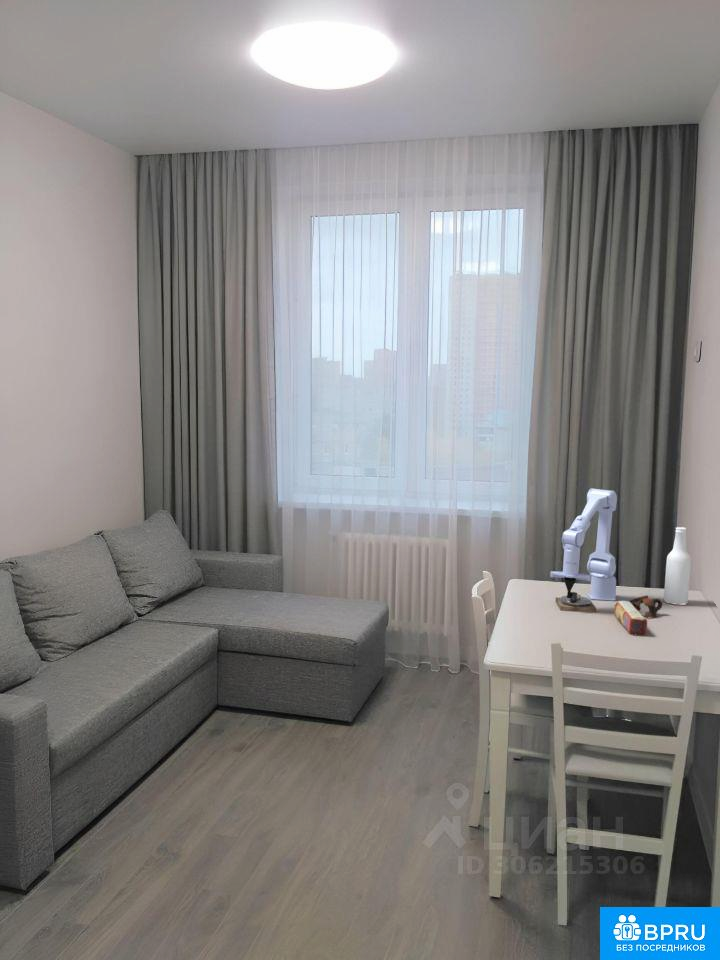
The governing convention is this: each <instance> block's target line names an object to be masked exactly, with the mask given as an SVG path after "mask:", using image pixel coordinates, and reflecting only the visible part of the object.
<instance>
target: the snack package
mask: <svg viewBox="0 0 720 960" xmlns="http://www.w3.org/2000/svg"><path fill="white" fill-rule="evenodd" d="M613 613H614V617H615V618H616V619H617V620H618V622H619V623H620V624H622V626H623V627H624V628H625V629H626V630H627V632H628V634H630V635H631V634H633V635H632V636H644V635H645V634H646V633H647V630H648V619H647V618H646V617H644V616H643V615H642V613H641V612H640V610H639V611H638V610H637V609H636V608H635V607H634V606H633V605H632V603H630V602H629V600H620V601H619V600H618V601H617V602H616V603H615V604H614V610H613ZM635 634H636V635H635ZM643 634H644V635H643Z"/></svg>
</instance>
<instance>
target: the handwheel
mask: <svg viewBox="0 0 720 960" xmlns="http://www.w3.org/2000/svg"><path fill="white" fill-rule="evenodd" d="M560 598H561V602H562V603H564V604H567V605H572V606H588V605H590V604H591V602H592V599H591V598H588V597H585V596H582V595H581V594H578V592H576V591H571V596H570V598H567V595H562V596H561V597H560Z"/></svg>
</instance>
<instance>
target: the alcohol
mask: <svg viewBox="0 0 720 960" xmlns="http://www.w3.org/2000/svg"><path fill="white" fill-rule="evenodd" d="M672 547H673V548H672V550H671V551H670V552H668V554H667V556H666V563H665V564H666V565H665V577H664V589H663V590H664V591H663V592H664V593H663V601H664V602H665V601H666V602H669V603H676V604H682V603H687V604H688V603H689V601H688V600H689V589H690V579H691V577H690V576H691V566H692V565H691V563H692V560H691V559H692V558H691V556H690V554H689V552H688V550H687V528H686V527H682V526H677V527H675V536H674V541H673V546H672ZM666 602H665V603H666Z"/></svg>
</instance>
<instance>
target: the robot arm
mask: <svg viewBox="0 0 720 960" xmlns="http://www.w3.org/2000/svg"><path fill="white" fill-rule="evenodd" d="M617 502H618V496H617V493H616V492H615V490H608V489H607V490H606V489H599V488H593V487H591V488H590V489H589V490H588V492H587V494H586V505H585V506H584V509H583V510H582V513H581V515H577V516H576V518H575V519H574V520H573V522H572V524H571V525H570V527H569V529H566V530H564V531H563V532H562V537H561V542H562V549H563V562H562V563H563V565H562V571H557V570H556V571H554V570H553V571H552V570H551V571H550V575H549V576H550V578H558V579H560V578H561V579H563V581H564V585H565V587H566V590H567V591H566V592H567V594H566V596H567V598H570V596H571V592H572V588H573V587H574V585H575V583H576V580H578V581H579V580H580V581H587V582H590V591H589V593H587V596H588V597H589V599H590V600H596V601H597V600H598V601H601V600H602V601H616V593H617V578H616V576H615V573H616V570H617V566H616V557H615V556H614V555H613V554H611V552H610V543H611V542H610V541H611V535H612V532H611V531H612V522H613V512H615V511H616V510H617V504H618V503H617ZM596 512H598V523H597V533H596V534H597V535H596V546H595V551H594V552H592V553H590V554H589V557H588V561H587V563H586V569H587V571H588V573H589V574H585V573H579V571H580V569H579V568H580V557H581V547H582V546H583V545H584V541H585V537H586V533H587V531H588V529H589V528H590V525H591V521H590V520H591V519H592V518H593V516H594V515H595V513H596Z"/></svg>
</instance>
